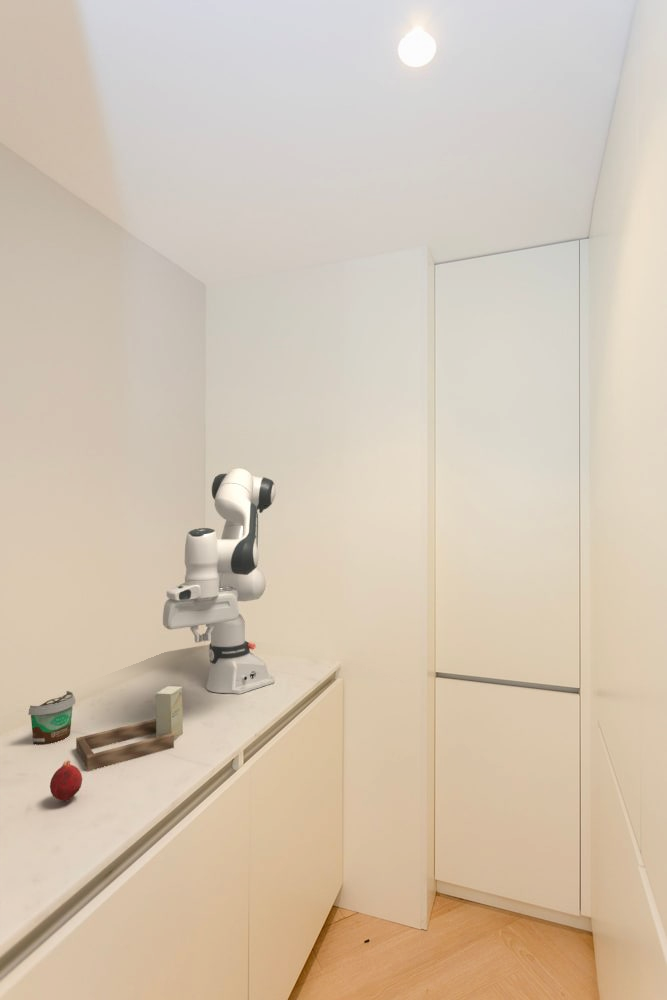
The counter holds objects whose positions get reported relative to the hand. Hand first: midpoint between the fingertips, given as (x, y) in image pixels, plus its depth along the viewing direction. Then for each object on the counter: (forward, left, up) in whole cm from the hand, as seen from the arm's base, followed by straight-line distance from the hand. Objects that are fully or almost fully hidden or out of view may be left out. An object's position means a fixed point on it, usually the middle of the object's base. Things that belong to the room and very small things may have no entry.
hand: (202, 641), depth 143 cm
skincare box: (+9, 0, -23) cm, 25 cm away
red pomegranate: (+36, +17, -23) cm, 46 cm away
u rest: (+20, 0, -23) cm, 31 cm away
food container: (+32, -17, -23) cm, 43 cm away
